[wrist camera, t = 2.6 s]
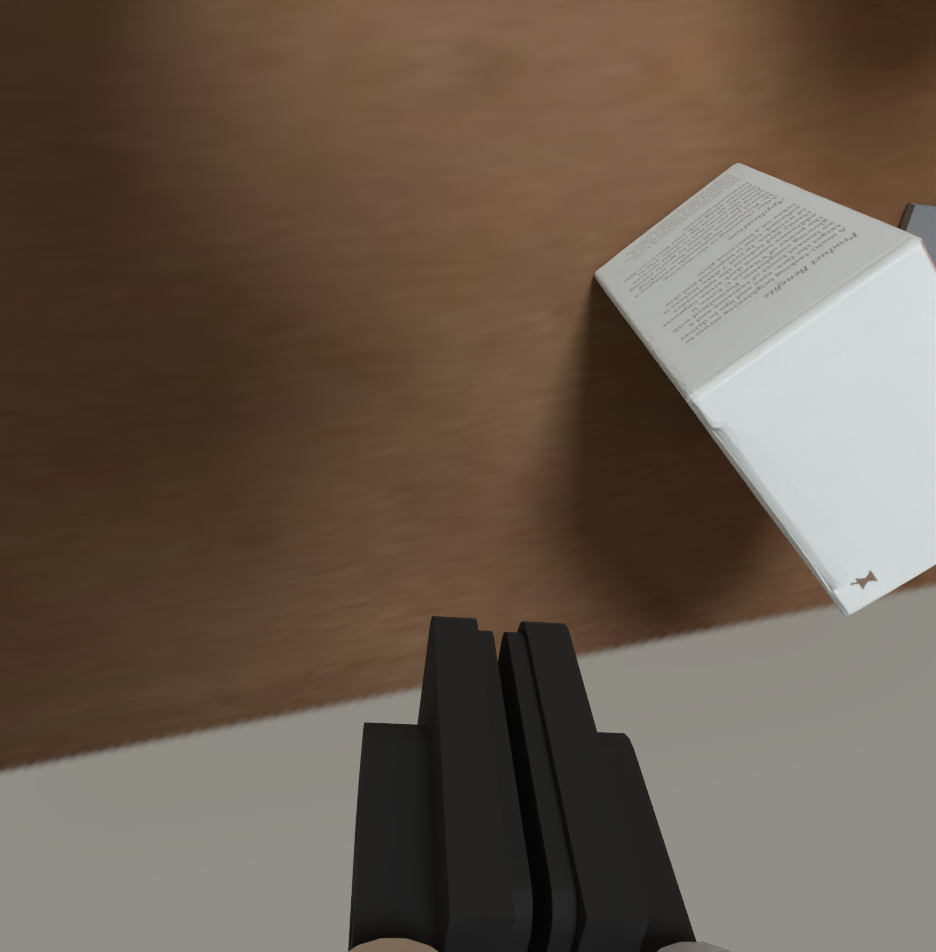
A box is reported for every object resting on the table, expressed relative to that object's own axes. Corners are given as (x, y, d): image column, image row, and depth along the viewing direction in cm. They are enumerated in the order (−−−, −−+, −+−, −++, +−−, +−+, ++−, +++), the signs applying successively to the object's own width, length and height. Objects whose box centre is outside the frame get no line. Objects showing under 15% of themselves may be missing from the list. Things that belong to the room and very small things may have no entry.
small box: (851, 346, 29) (1064, 499, 20) (712, 441, 30) (850, 626, 21) (737, 153, 26) (930, 229, 16) (586, 269, 27) (686, 401, 18)
